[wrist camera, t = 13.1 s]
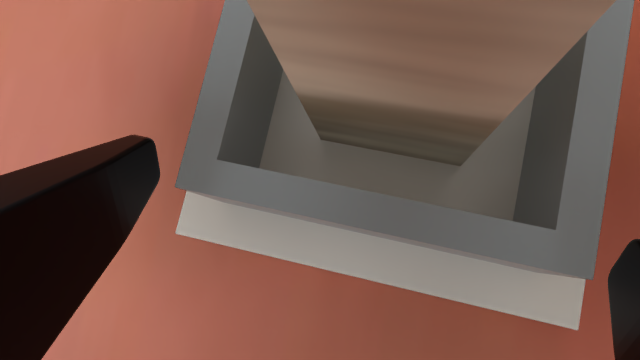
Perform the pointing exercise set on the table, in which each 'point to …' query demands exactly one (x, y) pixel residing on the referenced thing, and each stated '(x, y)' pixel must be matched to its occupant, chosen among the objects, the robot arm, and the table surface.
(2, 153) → the table surface
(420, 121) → the birch block
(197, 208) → the box holder
